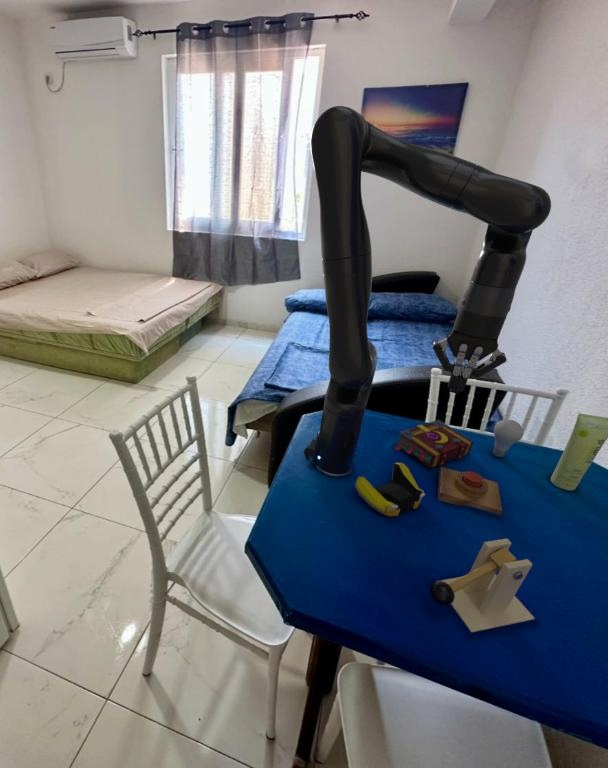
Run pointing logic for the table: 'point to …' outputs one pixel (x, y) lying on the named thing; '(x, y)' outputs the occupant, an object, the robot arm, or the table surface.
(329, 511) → the table surface
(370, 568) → the table surface
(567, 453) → the tube
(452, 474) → the button block
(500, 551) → the wooden lever handle
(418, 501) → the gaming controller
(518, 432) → the lightbulb
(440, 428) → the decorative book
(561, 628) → the table surface
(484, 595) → the wooden lever stand
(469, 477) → the button
